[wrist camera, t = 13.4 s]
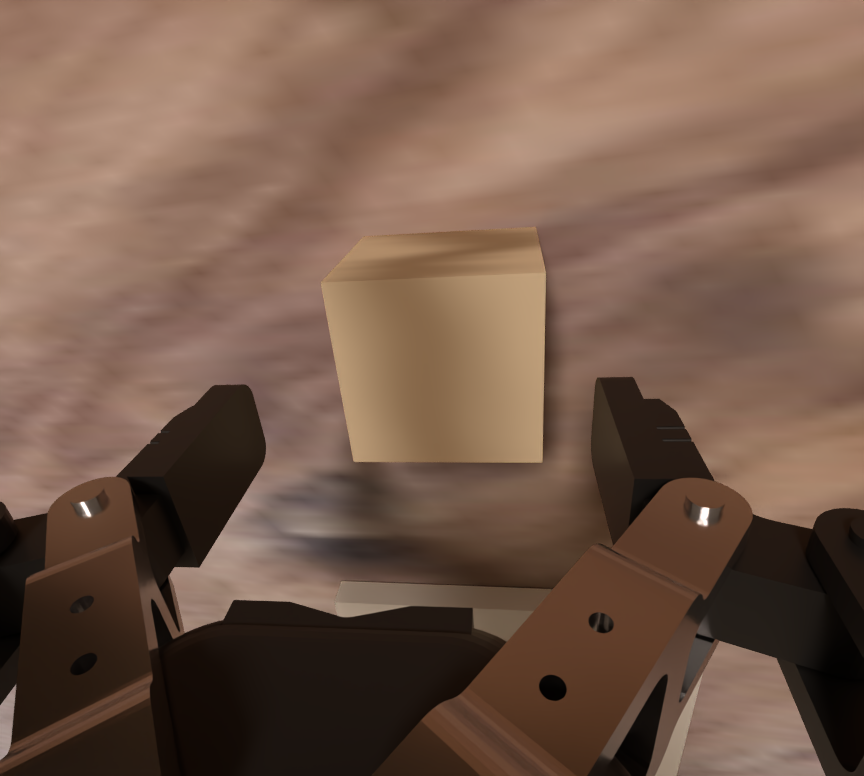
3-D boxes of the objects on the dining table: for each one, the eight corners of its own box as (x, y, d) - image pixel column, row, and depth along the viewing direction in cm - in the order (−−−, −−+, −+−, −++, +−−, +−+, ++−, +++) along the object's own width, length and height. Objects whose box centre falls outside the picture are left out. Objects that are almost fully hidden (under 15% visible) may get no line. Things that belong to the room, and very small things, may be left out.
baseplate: (706, 594, 23) (716, 619, 22) (660, 791, 31) (666, 816, 30) (341, 581, 25) (334, 602, 24) (383, 767, 33) (379, 790, 32)
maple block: (535, 226, 17) (546, 272, 13) (534, 380, 19) (542, 462, 15) (364, 235, 17) (320, 282, 13) (385, 383, 20) (353, 462, 16)
